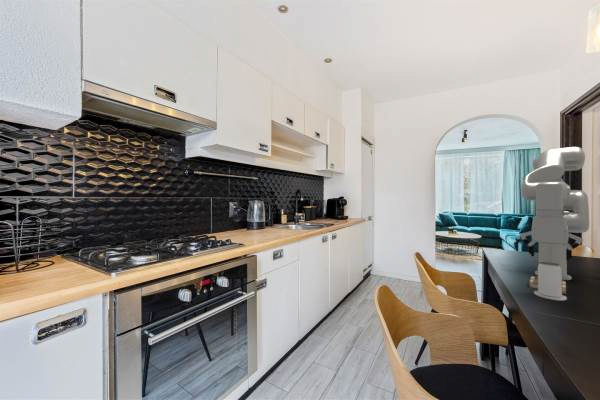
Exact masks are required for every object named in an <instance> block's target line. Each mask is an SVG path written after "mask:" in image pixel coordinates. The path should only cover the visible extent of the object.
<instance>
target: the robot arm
mask: <svg viewBox="0 0 600 400" xmlns="http://www.w3.org/2000/svg"><path fill="white" fill-rule="evenodd" d="M585 154H586V153H585V150H584V149H582V147H579V146H570V147H568V146H567V147H560V148H551V149H547V150H544V151H542V152H541V153H540V154H539V156H537V157H535V158H534V159H533V160H532V167H533V171H531V172H529V173H528V174H526V175H525V177H524V178H523V180H522V184H521V189H520V190H521V191H520V193H521V196H522V199H524V200H527V201H535V216H533V218H532V224H531V230H530V231H527V232H523V233H520V234H519V237H520V239H521V240H522V242H523V243H525V244H526V245H527V246H528V254H530V255H531V257H534V256H535V244H536V243H538V265H539V264H540V263H539V262H551V263H556V264H559V266H560V268H561V274H562V281H570V280H572V276H571V275H569V274H568V273H567V272H568V270H567V268H568V267H567V261H570V259H572V258H573V250H574V249H575V248H578V247H580V245H581V244H582V242H583V241H584V239H583V238H582V237H579V236H578V235H575V234H578V233H586V232H588V230H589V229H590V211H589V210H590V207H589V197H588V195H587V193H586V192H585V191H584V190H580V189H579V190H578V189H571V187H570V185H569V184H567V183H566V182H565V181H564V179H563V178H561V177H562V176H563V175H564V173H565V172H569V171H572V172H573V171H579V170H581V169H582V168H583V166H585V165H584V164H585V161H586V155H585ZM572 233H575V234H572ZM528 236H531V240H529V239H527V238H526V237H528ZM569 238H571V239H573V240H574V241H575V242H574V243H572V244H570V242H569ZM534 274H535V275H536V276H538V270H535V271H534Z"/></svg>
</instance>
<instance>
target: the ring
mask: <svg viewBox="0 0 600 400" xmlns="http://www.w3.org/2000/svg"><path fill="white" fill-rule="evenodd" d="M529 288H531V289H537V290H538V276H532V275H531V277H530V279H529ZM566 293H567V284H566V280H562V295H563V294H564V295H566Z"/></svg>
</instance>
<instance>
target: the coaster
mask: <svg viewBox="0 0 600 400" xmlns="http://www.w3.org/2000/svg"><path fill="white" fill-rule="evenodd" d="M533 294H534V295H535V296H537V297H539V298H543V299H546V300H551V301H560V302H565V301H567V300H568V298H567V297H568V296H565V294H564V295H563V294H562V296H561V297H550V296H545V295H542V294H540V293H539V292H538V289H537V290H534V291H533Z"/></svg>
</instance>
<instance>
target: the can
mask: <svg viewBox="0 0 600 400" xmlns="http://www.w3.org/2000/svg"><path fill="white" fill-rule="evenodd" d="M539 263H540V264H539ZM537 265H538V266H537V271H538V275H537V277H538V289H537V290H538V292H539V293H540V294H542V295H545V296H550V297H561V296H562V295H563V293H562V281H563V280H562V274H561V268H560V266H559V264H556V263H551V262H539V261H538V264H537Z"/></svg>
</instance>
